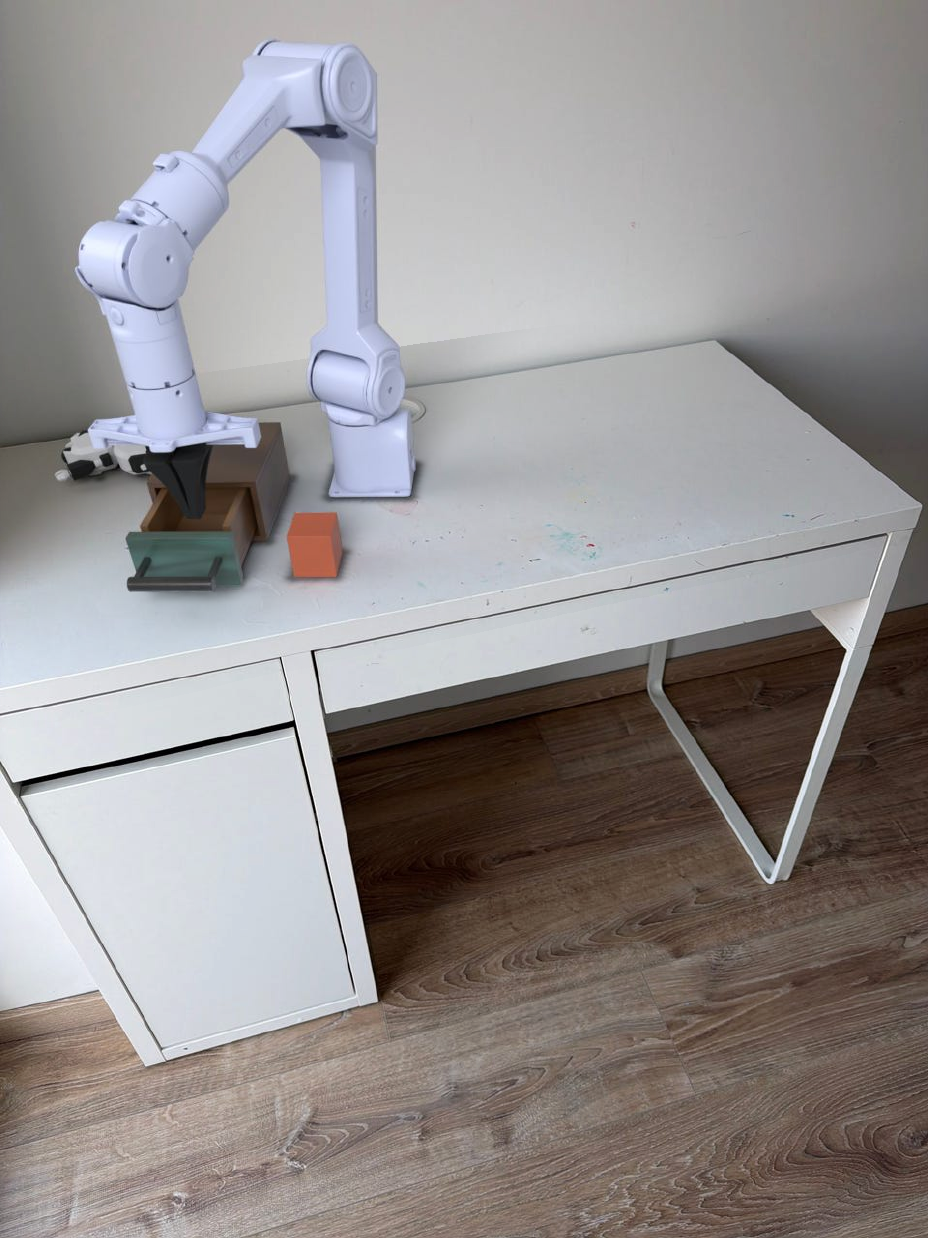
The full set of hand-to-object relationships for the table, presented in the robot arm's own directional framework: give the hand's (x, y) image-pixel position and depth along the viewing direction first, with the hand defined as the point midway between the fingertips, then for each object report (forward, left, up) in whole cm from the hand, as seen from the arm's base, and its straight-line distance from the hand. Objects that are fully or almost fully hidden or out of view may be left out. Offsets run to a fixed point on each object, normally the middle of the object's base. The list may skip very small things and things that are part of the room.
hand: (196, 513), depth 82 cm
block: (-10, -5, -9) cm, 14 cm away
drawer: (+2, -4, -8) cm, 10 cm away
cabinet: (+2, -16, -9) cm, 18 cm away
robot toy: (+17, -26, -10) cm, 33 cm away
